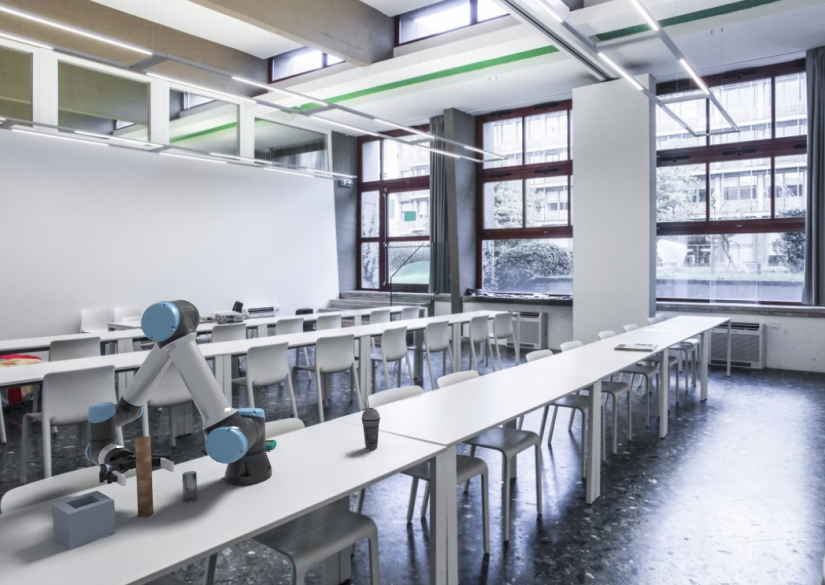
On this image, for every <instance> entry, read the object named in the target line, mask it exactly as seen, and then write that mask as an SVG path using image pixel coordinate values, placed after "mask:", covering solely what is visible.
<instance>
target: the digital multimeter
mask: <svg viewBox="0 0 825 585" xmlns="http://www.w3.org/2000/svg"><path fill="white" fill-rule="evenodd" d="M276 447H277V440H276V439H266V450H268V451H267V452H270V450H272V451H273V450H274V449H275V448H276Z"/></svg>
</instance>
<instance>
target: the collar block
mask: <svg viewBox="0 0 825 585" xmlns="http://www.w3.org/2000/svg"><path fill="white" fill-rule="evenodd" d="M51 506H52V523H53V525H52V526H53V538H54V539H55V540H57V541H58V542H59V543H60V544H62V545H63V546H64V547H65V548H66V549H68V550H72V549H76V548H78V546H79V547H81V545H82V546H84V544H85V545H87V544H90V543H92V541H93V542H95V541H98V540H97V539H99V540H101V539H100V538H102V539H104V538H107V537H109V536H108V535H110V536H112V535H111V534H113V535H115V534H114V533H117V532H116V530H117V529H116V510H115V506H116V505H115V499H113V498H112V497H109V496H108V495H106V494H105V493H103V492H101V491H99V490H94V491H91V492H87V493H84V494H81V495H77V496H74V497H70V498H67V499H63V500H60V501H57V502H53V503H52V505H51ZM106 536H107V537H106ZM103 537H104V538H103Z"/></svg>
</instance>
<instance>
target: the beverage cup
mask: <svg viewBox="0 0 825 585" xmlns="http://www.w3.org/2000/svg"><path fill="white" fill-rule="evenodd" d="M366 402H367V408H365V409H364V410H363V412H362V415H361V423H362V428H363V436H364V445H365V450H368V449H369V450H370V451H373V450H377V449H378V446H379V445H378V444H379V429H380V428H379V427H380V420H381V416H380V412H379V411H378V409H376V408H374V407H370V402H369V397H368V396H366Z"/></svg>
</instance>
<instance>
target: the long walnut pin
mask: <svg viewBox="0 0 825 585" xmlns="http://www.w3.org/2000/svg"><path fill="white" fill-rule="evenodd" d="M151 439H152V437H151V436H147V435H146V436H145V435H144V436H140V437H136V438H134V448H135V456H136V468H135V474H136V476H135V477H136V499H137V500H136V501H137V517H138V516H139V517H138V518H140V517H144V518H149V517H150V516H152V514H154V494H153V490H154V489H153V468H152V467H153V466H152V462H151V454H152V444H151V442H152V440H151ZM148 516H149V517H148Z"/></svg>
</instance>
